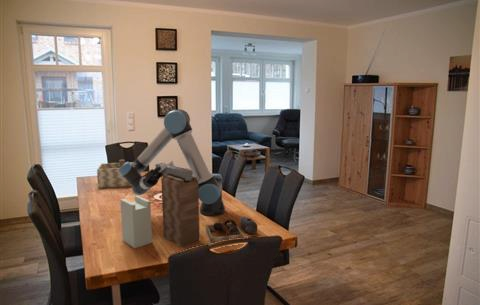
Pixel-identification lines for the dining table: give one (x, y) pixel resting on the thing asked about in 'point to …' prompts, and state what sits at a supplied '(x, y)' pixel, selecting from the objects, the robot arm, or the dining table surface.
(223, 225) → the pottery mug
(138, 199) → the slotted cradle
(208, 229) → the coaster tray
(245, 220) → the perforated stone tool
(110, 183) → the zigzag patterned box
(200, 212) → the robot arm
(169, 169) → the bar
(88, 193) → the dining table surface
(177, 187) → the walnut stand
